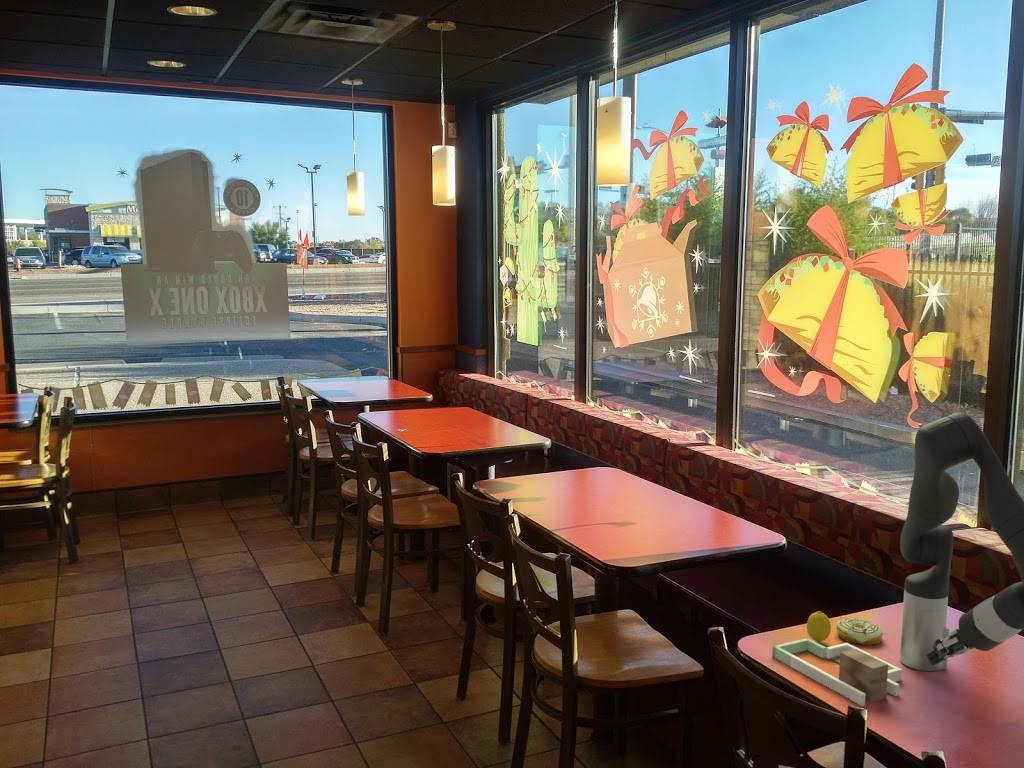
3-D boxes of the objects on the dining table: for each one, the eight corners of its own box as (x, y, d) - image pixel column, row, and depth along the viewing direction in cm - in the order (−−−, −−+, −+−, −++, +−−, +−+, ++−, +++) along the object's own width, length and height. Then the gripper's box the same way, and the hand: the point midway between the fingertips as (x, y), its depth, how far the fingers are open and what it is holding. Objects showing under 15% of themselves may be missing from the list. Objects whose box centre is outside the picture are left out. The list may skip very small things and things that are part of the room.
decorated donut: (865, 651, 217) (866, 636, 216) (827, 635, 225) (827, 621, 225) (890, 640, 223) (891, 626, 222) (852, 626, 231) (853, 612, 231)
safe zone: (825, 657, 212) (826, 647, 212) (790, 666, 207) (790, 655, 207) (807, 648, 218) (807, 638, 217) (772, 656, 213) (772, 646, 212)
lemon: (831, 648, 218) (833, 616, 217) (807, 646, 219) (809, 614, 218) (828, 639, 223) (829, 608, 222) (804, 637, 224) (806, 606, 223)
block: (886, 698, 193) (888, 664, 192) (870, 702, 191) (872, 668, 190) (853, 680, 201) (855, 648, 200) (838, 684, 199) (840, 652, 198)
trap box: (920, 689, 196) (920, 678, 196) (861, 706, 189) (862, 694, 188) (846, 652, 215) (846, 642, 215) (790, 666, 207) (790, 655, 207)
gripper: (1003, 598, 171) (943, 636, 184) (956, 609, 166) (897, 647, 178) (1028, 635, 167) (965, 671, 180) (979, 647, 161) (918, 684, 174)
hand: (931, 659), depth 179 cm, fingers closed
